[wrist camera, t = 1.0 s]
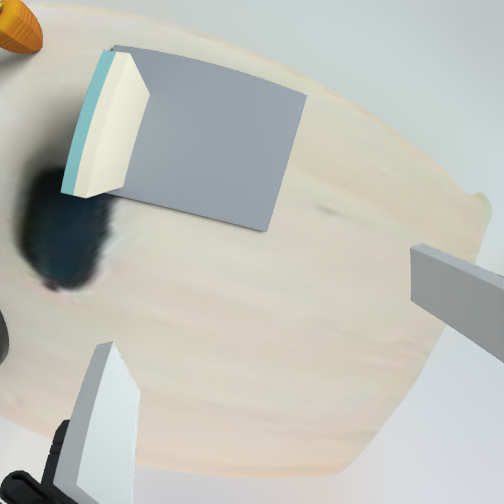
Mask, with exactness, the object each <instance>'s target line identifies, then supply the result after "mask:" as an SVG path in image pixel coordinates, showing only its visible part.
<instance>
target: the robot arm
mask: <svg viewBox="0 0 504 504" xmlns="http://www.w3.org/2000/svg"><path fill="white" fill-rule="evenodd" d="M410 253H411V301H412V302H414V303H415V304H417V305H419V306H420V307H422V308H423V309H425V310H426V311H428V312H429V313H431V314H432V315H434V316H436V317H437V318H439V319H440V320H442V321H443V322H445V323H446V324H448V325H449V326H451V327H452V328H454V329H455V330H457V331H458V332H460V333H461V334H463V335H464V336H466V337H467V338H469V339H470V340H472V341H473V342H474V343H476V344H477V345H479V346H480V347H482V348H483V349H485V350H486V351H487V352H489V353H490V354H492V355H493V356H495V357H496V358H498V359H499V360H500V361H502V362H503V363H504V277H503V276H500V275H497V274H495V273H493V272H490V271H488V270H486V269H483V268H481V267H479V266H476V265H474V264H472V263H469V262H467V261H465V260H462V259H460V258H457V257H455V256H452V255H450V254H447V253H445V252H442V251H440V250H437V249H435V248H432V247H430V246H427V245H424V244H419V245H417V246H414V247H411V248H410ZM8 349H9V337H8V331H7V327H6V324H5V321H4V318H3V316H2V313H1V311H0V365H1V363H2V362H3V361H4V359H5V358H6V356H7V353H8ZM140 397H141V391H140V390H139V388H138V386H137V385H136V383H135V381H134V379H133V378H132V376H131V374H130V372H129V370H128V368H127V367H126V365H125V363H124V361H123V359H122V357H121V355H120V353H119V352H118V350H117V348H116V346H115V344H114V342H113V341H112V342H108V343H104V344H100V345H97V346H96V349H95V351H94V354H93V356H92V359H91V362H90V364H89V367H88V370H87V372H86V375H85V378H84V380H83V383H82V386H81V389H80V392H79V395H78V398H77V400H76V403H75V406H74V410H73V413H72V416H71V419H70V420H64V421H63V422H62V423H61V425H60V426H59V427H58V429H57V430H56V432H55V435H54V439H53V442H52V443H53V445H51V448H50V454H49V455H48V458H47V462H46V466H45V469H44V473H43V477H42V481H41V484H40V483H38V482H37V481H36V480H35V479H34V478H33V477H32V476H31V475H30V474H29V473H27V472H25V471H23V470H21V471H14V472H12V473H10V474H9V475H8V476H6V477H5V478H4V480H3V482H2V484H1V487H0V498H1V499H2V500H3V501H4V502H6V503H7V504H134V478H135V457H136V441H137V428H138V417H139V406H140ZM0 504H2V503H1V502H0Z"/></svg>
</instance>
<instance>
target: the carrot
mask: <svg viewBox="0 0 504 504" xmlns="http://www.w3.org/2000/svg"><path fill="white" fill-rule="evenodd" d="M42 44H43V34H42V29H41V27H40V24H39V22H38V20H37V19H36V17H35V16H34V14H33V13H32V12H31V11H30V10H29V8H28V7H27V6H26V5H25V4H24V3H23V2H22V1H20V0H1V1H0V47H1V48H3V49H6V50H8V51H11V52H15V53H20V54H30V53H33V52H37V51H40V49H41V48H42Z"/></svg>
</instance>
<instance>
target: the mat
mask: <svg viewBox="0 0 504 504" xmlns="http://www.w3.org/2000/svg"><path fill="white" fill-rule="evenodd" d="M113 51H116V52H123V53H130V54H131V56H132V58H133V60H134V63H135V65H136V67H137V69H138V71H139V73H140V75H141V77H142V79H143V81H144V83H145V85H146V87H147V89H148V91H149V93H150V96H149V99H148V102H147V105H146V108H145V111H144V114H143V117H142V120H141V123H140V126H139V130H138V133H137V136H136V140H135V143H134V147H133V150H132V154H131V158H130V161H129V165H128V169H127V173H126V177H125V181H124V185H123V187H121V188H118V189H114V190H111V191H108V192H104V193H108V194H112V195H117V196H121V197H125V198H130V199H134V200H138V201H143V202H147V203H151V204H155V205H160V206H164V207H168V208H172V209H176V210H180V211H184V212H189V213H193V214H197V215H201V216H205V217H209V218H213V219H217V220H221V221H225V222H229V223H233V224H237V225H241V226H245V227H248V228H252V229H256V230H260V231H264V232H267V229H268V226H269V223H270V219H271V216H272V213H273V209H274V206H275V203H276V199H277V196H278V193H279V189H280V186H281V183H282V179H283V176H284V173H285V169H286V166H287V162H288V159H289V156H290V152H291V149H292V145H293V142H294V139H295V135H296V132H297V128H298V125H299V122H300V118H301V115H302V111H303V108H304V105H305V101H306V98H307V95H304V94H302V93H299V92H297V91H294V90H292V89H289V88H286V87H284V86H281V85H278V84H276V83H273V82H270V81H267V80H264V79H261V78H258V77H255V76H252V75H249V74H246V73H243V72H239V71H236V70H233V69H229V68H226V67H222V66H219V65H215V64H211V63H208V62H204V61H200V60H196V59H191V58H187V57H183V56H178V55H173V54H168V53H163V52H158V51H152V50H147V49H141V48H134V47H127V46H119V45H115V46H114V48H113Z"/></svg>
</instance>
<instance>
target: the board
mask: <svg viewBox="0 0 504 504" xmlns="http://www.w3.org/2000/svg"><path fill="white" fill-rule="evenodd" d="M149 96H150V93H149V91H148V89H147V87H146V85H145V83H144V81H143V79H142V77H141V75H140V73H139V71H138V69H137V67H136V65H135V63H134V60H133V58H132V56H131V54H130V53H123V52H116V51H107V50H104V51H103V53H102V55H101V58H100V60H99V62H98V65H97V67H96V70H95V72H94V75H93V78H92V80H91V83H90V86H89V88H88V91H87V94H86V97H85V100H84V103H83V106H82V109H81V112H80V115H79V119H78V122H77V125H76V129H75V132H74V136H73V140H72V144H71V147H70V151H69V156H68V160H67V164H66V169H65V173H64V178H63V183H62V188H61V193H66V194H70V195H74V196H79V197H83V198H88V197H92V196H95V195H98V194H101V193H104V192H108V191H111V190H114V189H118V188H121V187H123V185H124V181H125V177H126V173H127V169H128V165H129V161H130V158H131V154H132V150H133V147H134V143H135V140H136V136H137V133H138V130H139V126H140V123H141V120H142V117H143V114H144V111H145V108H146V105H147V102H148V99H149Z"/></svg>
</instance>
